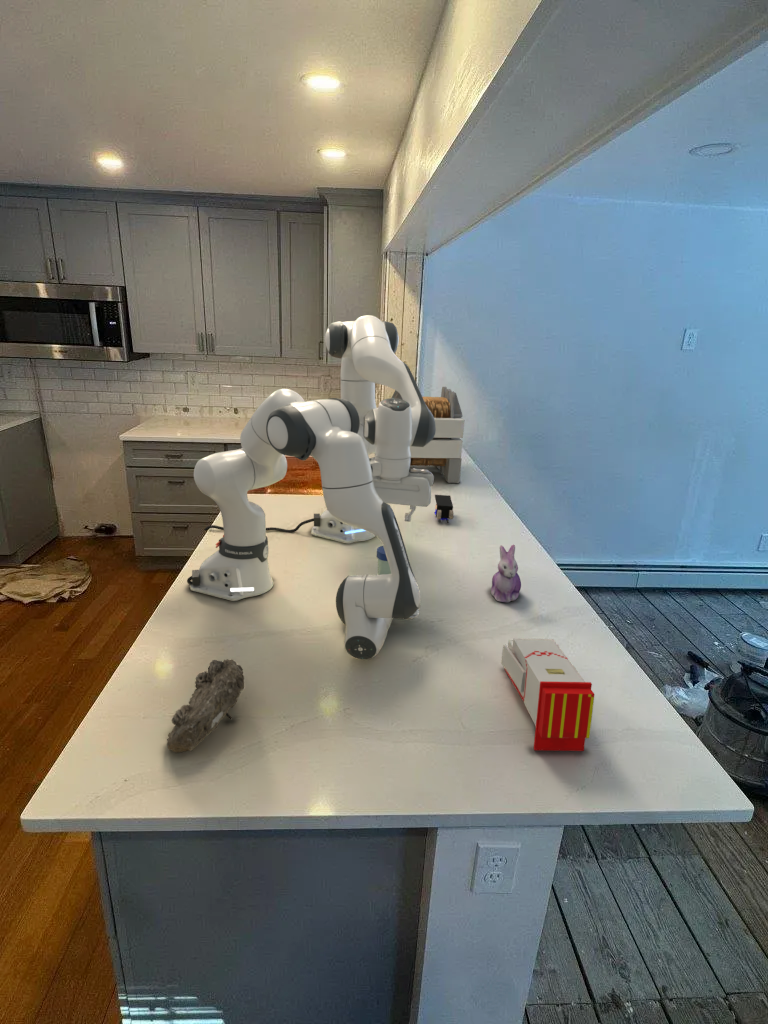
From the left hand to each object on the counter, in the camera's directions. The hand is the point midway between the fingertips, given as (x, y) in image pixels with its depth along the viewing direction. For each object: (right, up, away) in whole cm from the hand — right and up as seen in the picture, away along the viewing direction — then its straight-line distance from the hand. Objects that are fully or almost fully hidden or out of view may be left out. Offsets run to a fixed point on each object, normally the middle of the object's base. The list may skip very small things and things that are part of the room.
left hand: (385, 587), depth 150 cm
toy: (+31, -19, -34) cm, 50 cm away
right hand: (+1, +18, -6) cm, 19 cm away
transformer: (+17, +39, +125) cm, 132 cm away
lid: (+1, +10, -3) cm, 10 cm away
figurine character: (+22, +17, +66) cm, 72 cm away
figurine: (+34, -4, +9) cm, 35 cm away
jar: (0, -5, +2) cm, 5 cm away
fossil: (-33, -19, -42) cm, 57 cm away
